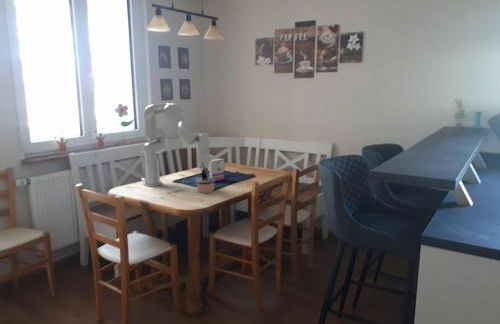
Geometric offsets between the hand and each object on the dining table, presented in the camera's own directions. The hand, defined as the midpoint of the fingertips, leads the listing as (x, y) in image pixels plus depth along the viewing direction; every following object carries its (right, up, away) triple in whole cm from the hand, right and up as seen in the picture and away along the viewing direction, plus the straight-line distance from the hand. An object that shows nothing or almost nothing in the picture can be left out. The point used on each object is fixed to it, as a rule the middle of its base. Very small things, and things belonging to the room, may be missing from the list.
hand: (205, 177), depth 272 cm
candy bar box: (+6, -4, +28) cm, 29 cm away
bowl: (0, -9, +2) cm, 9 cm away
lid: (0, -2, 0) cm, 2 cm away
